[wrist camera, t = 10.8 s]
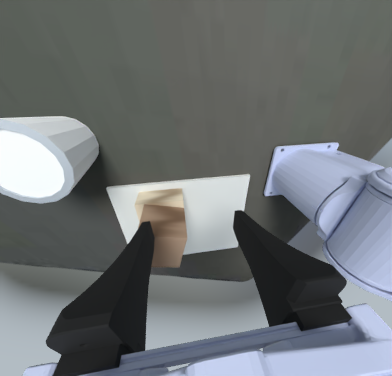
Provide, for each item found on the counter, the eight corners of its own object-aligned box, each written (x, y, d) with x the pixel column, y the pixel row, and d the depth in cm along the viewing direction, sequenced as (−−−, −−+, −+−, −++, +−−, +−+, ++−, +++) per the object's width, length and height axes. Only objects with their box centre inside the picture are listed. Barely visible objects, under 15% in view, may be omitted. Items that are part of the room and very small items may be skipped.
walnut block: (184, 207, 20) (187, 238, 16) (177, 234, 22) (179, 267, 18) (144, 204, 19) (136, 235, 15) (141, 232, 21) (134, 267, 17)
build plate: (248, 174, 23) (250, 176, 22) (236, 245, 31) (237, 247, 31) (107, 186, 21) (105, 189, 20) (135, 258, 29) (134, 262, 29)
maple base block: (181, 187, 22) (183, 200, 19) (184, 219, 25) (186, 233, 23) (138, 192, 21) (134, 205, 19) (147, 223, 25) (144, 238, 22)
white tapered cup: (97, 112, 16) (56, 122, 10) (109, 171, 20) (83, 204, 14) (22, 106, 15) (-73, 113, 9) (49, 169, 19) (-8, 204, 13)
